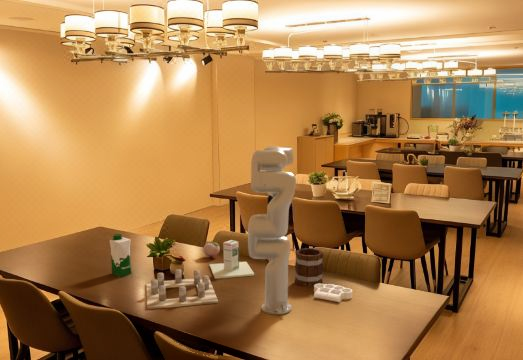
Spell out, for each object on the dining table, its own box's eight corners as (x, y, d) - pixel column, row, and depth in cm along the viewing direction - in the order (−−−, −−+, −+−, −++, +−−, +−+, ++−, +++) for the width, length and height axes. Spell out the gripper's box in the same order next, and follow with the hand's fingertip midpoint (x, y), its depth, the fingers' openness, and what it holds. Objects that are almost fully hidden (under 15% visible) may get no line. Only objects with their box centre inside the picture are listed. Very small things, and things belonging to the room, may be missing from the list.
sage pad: (254, 275, 249) (254, 273, 249) (214, 278, 245) (214, 276, 245) (246, 263, 269) (246, 261, 269) (209, 266, 264) (209, 264, 264)
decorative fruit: (200, 259, 276) (200, 241, 274) (206, 254, 283) (206, 238, 282) (216, 260, 273) (216, 243, 271) (221, 256, 281) (221, 239, 279)
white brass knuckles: (307, 298, 222) (318, 287, 235) (345, 305, 214) (355, 294, 227) (307, 291, 221) (318, 280, 234) (346, 298, 213) (356, 287, 226)
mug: (321, 288, 233) (322, 257, 231) (292, 285, 236) (293, 255, 233) (324, 274, 252) (325, 245, 250) (298, 272, 255) (298, 244, 252)
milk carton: (123, 269, 258) (121, 232, 255) (134, 273, 252) (132, 235, 249) (108, 274, 251) (107, 236, 248) (120, 278, 245) (118, 239, 242)
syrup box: (232, 271, 253) (231, 243, 250) (223, 269, 256) (223, 241, 254) (239, 268, 257) (239, 241, 255) (230, 266, 261) (230, 239, 259)
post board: (218, 302, 215) (217, 287, 214) (147, 309, 208) (146, 293, 207) (208, 279, 244) (208, 265, 243) (146, 284, 237) (145, 270, 236)
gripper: (286, 174, 229) (286, 210, 232) (276, 169, 246) (276, 203, 248) (270, 174, 227) (270, 211, 230) (261, 170, 244) (261, 204, 247)
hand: (273, 207), depth 239 cm, fingers open, 9 cm apart
